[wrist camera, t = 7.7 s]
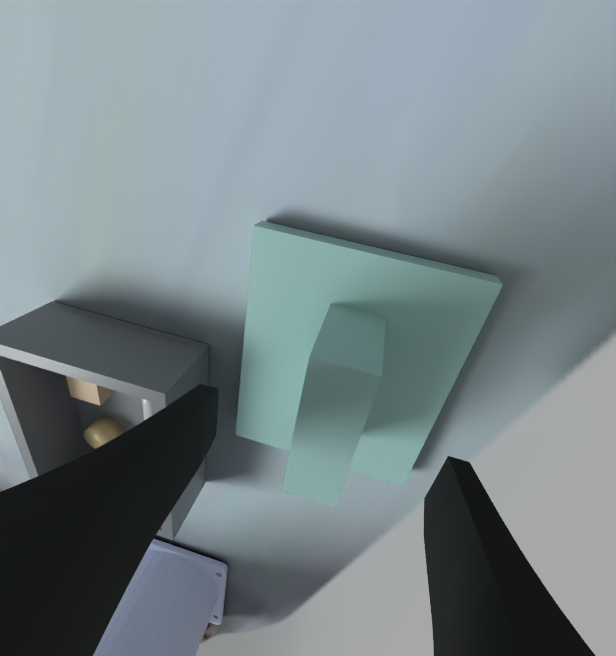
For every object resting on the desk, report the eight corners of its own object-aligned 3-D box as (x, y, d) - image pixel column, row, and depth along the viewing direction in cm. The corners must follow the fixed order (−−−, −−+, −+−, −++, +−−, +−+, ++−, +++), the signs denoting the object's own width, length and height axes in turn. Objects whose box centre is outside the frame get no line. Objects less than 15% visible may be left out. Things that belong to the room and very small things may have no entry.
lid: (402, 465, 17) (403, 566, 13) (244, 417, 18) (200, 498, 14) (494, 271, 12) (543, 341, 8) (265, 218, 13) (204, 256, 9)
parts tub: (205, 482, 21) (172, 540, 18) (85, 443, 22) (35, 492, 19) (209, 345, 16) (165, 393, 13) (52, 301, 17) (-24, 337, 14)
